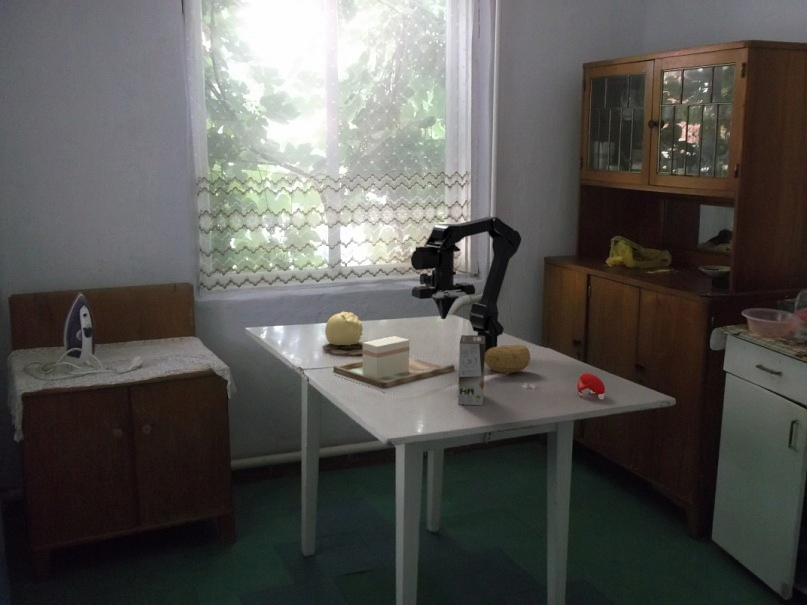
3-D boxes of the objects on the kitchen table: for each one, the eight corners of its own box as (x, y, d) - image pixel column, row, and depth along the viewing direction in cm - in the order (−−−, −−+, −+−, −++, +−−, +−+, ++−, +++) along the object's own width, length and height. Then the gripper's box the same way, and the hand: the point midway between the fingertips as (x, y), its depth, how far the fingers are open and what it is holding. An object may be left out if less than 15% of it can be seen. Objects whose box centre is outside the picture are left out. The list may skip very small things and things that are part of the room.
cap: (569, 384, 219) (585, 377, 214) (580, 372, 222) (596, 365, 218) (587, 408, 219) (603, 402, 214) (597, 396, 223) (613, 390, 218)
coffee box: (483, 406, 210) (485, 343, 207) (457, 404, 210) (459, 342, 207) (483, 395, 219) (485, 335, 216) (459, 394, 219) (460, 334, 216)
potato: (476, 370, 242) (477, 343, 241) (520, 366, 247) (521, 340, 245) (491, 379, 233) (492, 351, 232) (536, 375, 238) (537, 348, 236)
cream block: (394, 366, 240) (394, 336, 239) (409, 370, 236) (409, 339, 234) (362, 374, 232) (362, 342, 230) (376, 378, 228) (377, 346, 226)
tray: (403, 359, 253) (403, 351, 253) (454, 373, 238) (454, 365, 238) (333, 375, 235) (333, 366, 234) (383, 392, 220) (383, 383, 219)
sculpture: (363, 348, 265) (363, 315, 263) (324, 349, 264) (324, 315, 262) (362, 340, 276) (362, 308, 274) (325, 340, 275) (325, 308, 273)
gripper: (457, 261, 258) (456, 311, 261) (403, 265, 250) (403, 316, 253) (476, 266, 248) (475, 318, 251) (421, 270, 240) (420, 323, 243)
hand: (443, 318), depth 250 cm, fingers closed
